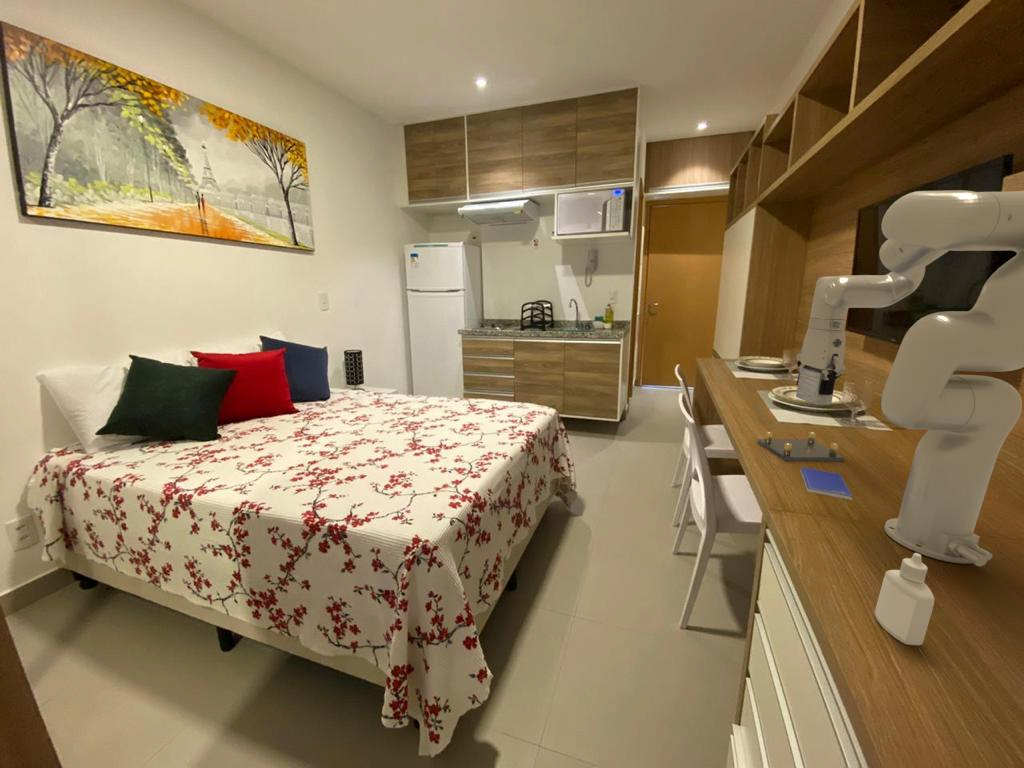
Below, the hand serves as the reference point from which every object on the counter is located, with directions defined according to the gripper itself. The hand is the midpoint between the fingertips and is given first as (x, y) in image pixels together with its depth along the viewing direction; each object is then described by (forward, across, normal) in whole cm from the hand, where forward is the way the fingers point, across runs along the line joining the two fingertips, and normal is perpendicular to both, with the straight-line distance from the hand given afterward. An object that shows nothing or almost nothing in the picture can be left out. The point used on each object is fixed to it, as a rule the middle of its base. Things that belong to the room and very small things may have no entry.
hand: (813, 389), depth 112 cm
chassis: (+19, +1, 0) cm, 19 cm away
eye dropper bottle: (+18, -61, +28) cm, 70 cm away
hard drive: (+19, -19, +7) cm, 27 cm away
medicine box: (+3, 0, 0) cm, 3 cm away
